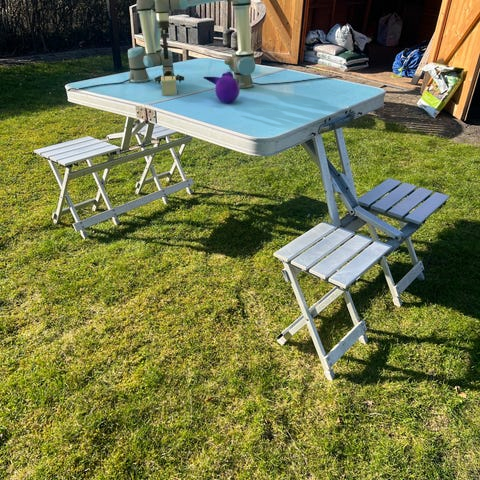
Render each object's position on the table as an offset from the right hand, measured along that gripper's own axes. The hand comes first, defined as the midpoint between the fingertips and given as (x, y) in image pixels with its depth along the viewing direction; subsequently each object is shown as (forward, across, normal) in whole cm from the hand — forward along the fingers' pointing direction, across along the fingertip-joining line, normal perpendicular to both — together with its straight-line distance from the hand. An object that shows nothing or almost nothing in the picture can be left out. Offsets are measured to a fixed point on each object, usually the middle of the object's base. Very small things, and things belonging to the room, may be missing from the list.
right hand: (166, 57), depth 287 cm
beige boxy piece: (+14, +4, 0) cm, 15 cm away
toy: (+23, -25, -33) cm, 47 cm away
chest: (+23, +4, 0) cm, 23 cm away
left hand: (+17, +10, -1) cm, 19 cm away
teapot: (+23, +78, -56) cm, 98 cm away
